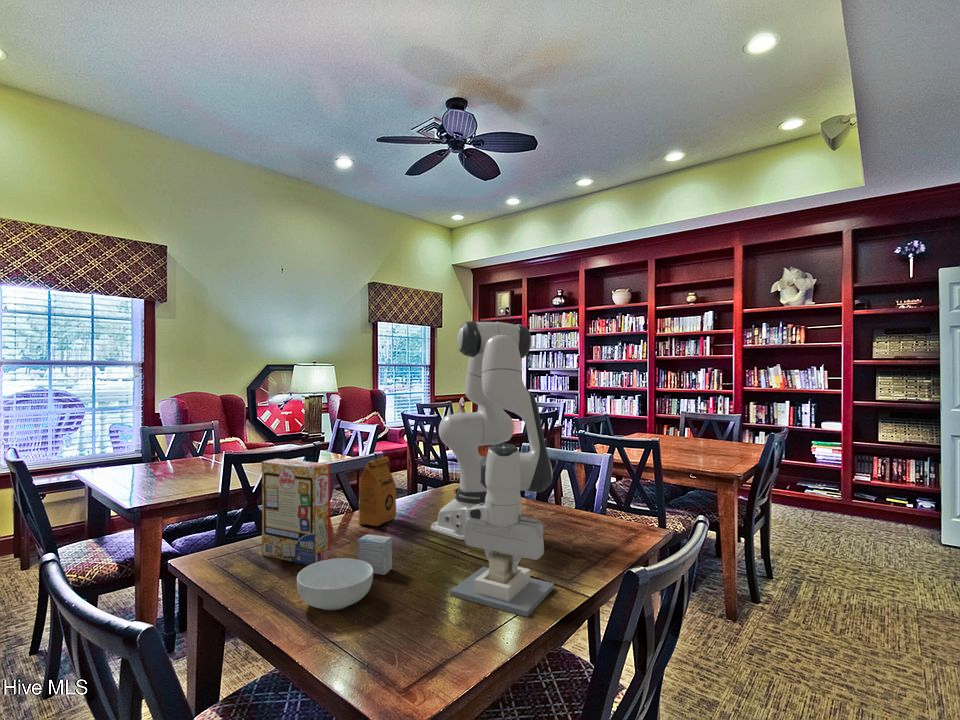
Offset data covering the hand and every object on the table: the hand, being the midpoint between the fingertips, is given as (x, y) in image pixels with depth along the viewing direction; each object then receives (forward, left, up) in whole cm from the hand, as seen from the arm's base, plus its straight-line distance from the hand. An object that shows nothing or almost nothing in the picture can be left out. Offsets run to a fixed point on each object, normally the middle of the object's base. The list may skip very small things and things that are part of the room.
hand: (502, 569), depth 121 cm
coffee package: (-61, +25, -6) cm, 66 cm away
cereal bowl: (-31, -24, -6) cm, 40 cm away
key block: (0, 0, -3) cm, 3 cm away
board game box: (-60, -11, -6) cm, 61 cm away
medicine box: (-35, -6, -6) cm, 36 cm away
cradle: (0, 0, -5) cm, 5 cm away
